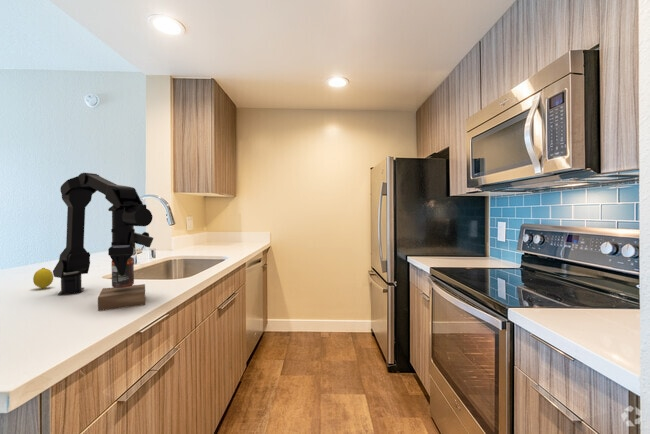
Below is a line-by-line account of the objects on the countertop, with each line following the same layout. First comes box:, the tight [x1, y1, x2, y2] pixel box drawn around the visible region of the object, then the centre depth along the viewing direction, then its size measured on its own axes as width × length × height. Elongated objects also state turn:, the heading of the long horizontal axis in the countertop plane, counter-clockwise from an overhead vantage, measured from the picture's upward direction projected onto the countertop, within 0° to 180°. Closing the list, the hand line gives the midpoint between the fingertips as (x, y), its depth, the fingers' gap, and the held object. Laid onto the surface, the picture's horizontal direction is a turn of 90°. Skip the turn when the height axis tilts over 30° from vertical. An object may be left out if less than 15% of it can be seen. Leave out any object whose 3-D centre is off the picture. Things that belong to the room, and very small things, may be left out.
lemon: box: [32, 267, 54, 290], centre depth 114 cm, size 6×6×8 cm
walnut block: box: [97, 283, 146, 312], centre depth 98 cm, size 12×12×4 cm
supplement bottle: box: [111, 256, 135, 288], centre depth 97 cm, size 6×6×11 cm
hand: (123, 273), depth 97 cm, fingers closed on supplement bottle, 6 cm apart
